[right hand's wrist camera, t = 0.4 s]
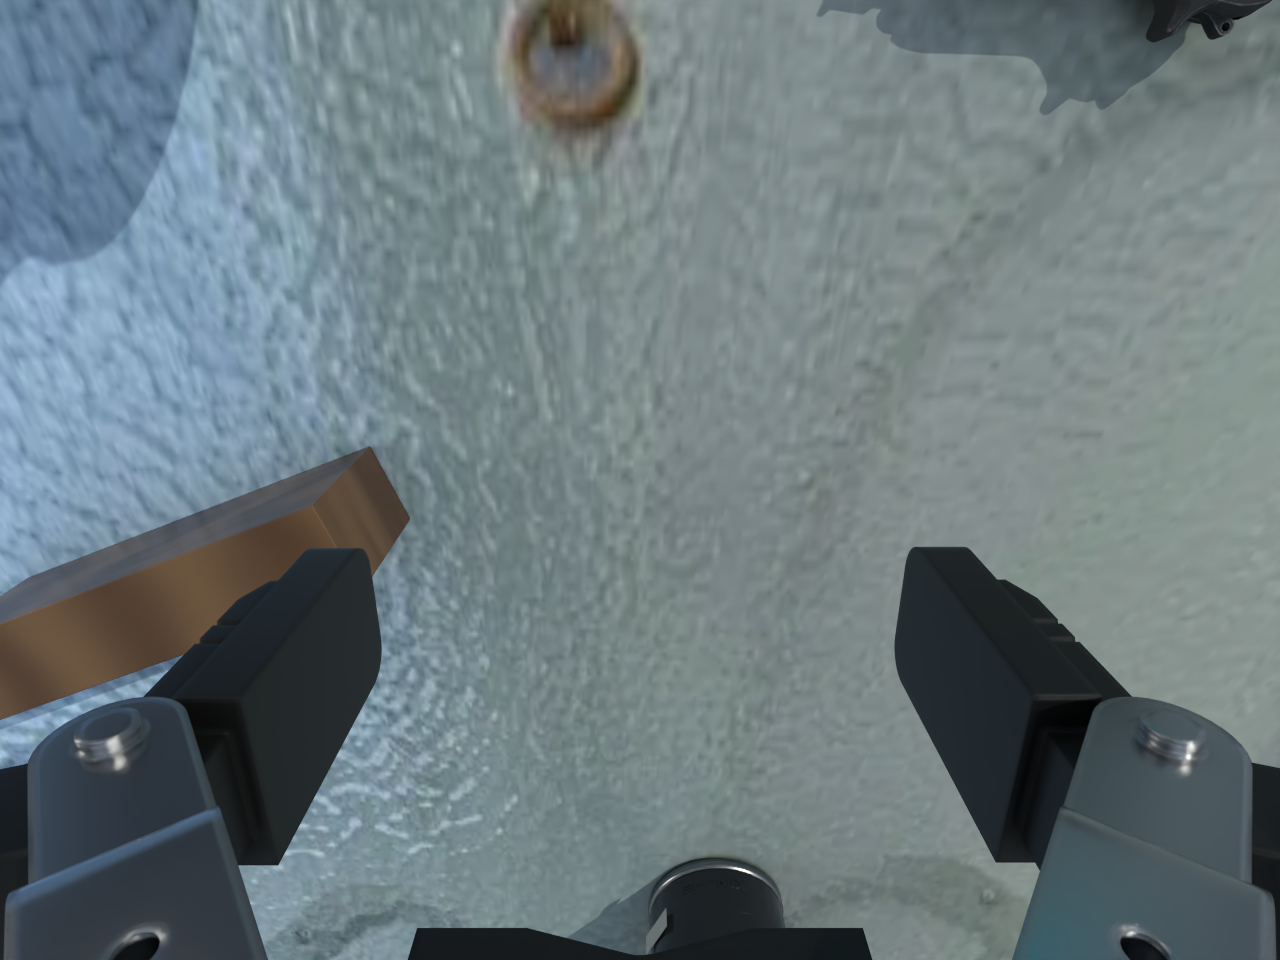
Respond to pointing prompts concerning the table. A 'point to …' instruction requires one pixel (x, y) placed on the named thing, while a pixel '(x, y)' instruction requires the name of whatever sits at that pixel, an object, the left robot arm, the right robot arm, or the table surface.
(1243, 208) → the table surface
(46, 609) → the block
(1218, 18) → the handgun
